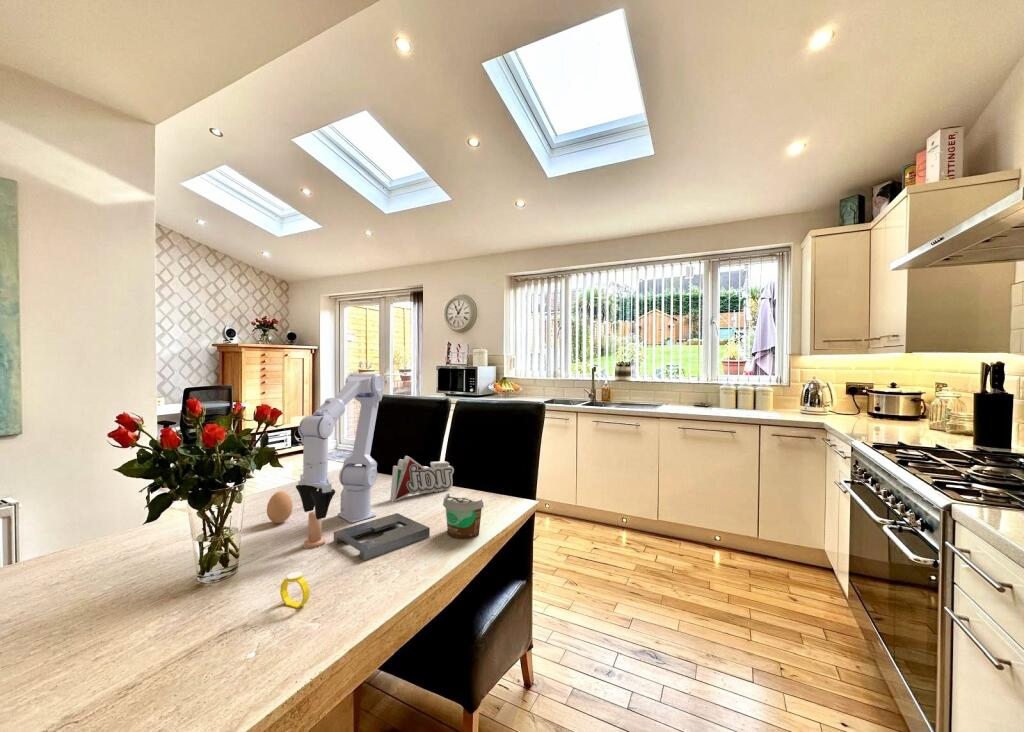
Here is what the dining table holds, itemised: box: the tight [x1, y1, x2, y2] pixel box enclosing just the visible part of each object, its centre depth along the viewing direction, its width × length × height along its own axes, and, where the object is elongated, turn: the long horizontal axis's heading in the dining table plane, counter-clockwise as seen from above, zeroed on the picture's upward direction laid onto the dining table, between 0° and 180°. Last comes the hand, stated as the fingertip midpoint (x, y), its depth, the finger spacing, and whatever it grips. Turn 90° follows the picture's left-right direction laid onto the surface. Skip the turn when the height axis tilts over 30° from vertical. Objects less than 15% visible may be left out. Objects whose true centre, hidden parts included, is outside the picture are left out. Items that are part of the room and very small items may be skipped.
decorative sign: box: [389, 455, 455, 502], centre depth 149 cm, size 23×3×15 cm, turn 130°
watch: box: [279, 571, 310, 609], centre depth 79 cm, size 6×3×6 cm, turn 71°
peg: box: [303, 510, 326, 549], centre depth 106 cm, size 5×5×8 cm
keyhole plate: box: [333, 513, 431, 562], centre depth 110 cm, size 16×19×2 cm
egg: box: [266, 490, 294, 524], centre depth 120 cm, size 7×7×9 cm
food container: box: [442, 492, 485, 540], centre depth 113 cm, size 12×6×10 cm, turn 62°
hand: (314, 514), depth 106 cm, fingers open, 7 cm apart
